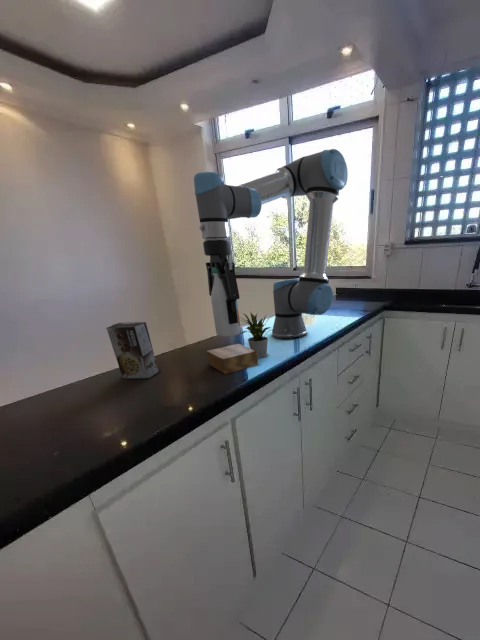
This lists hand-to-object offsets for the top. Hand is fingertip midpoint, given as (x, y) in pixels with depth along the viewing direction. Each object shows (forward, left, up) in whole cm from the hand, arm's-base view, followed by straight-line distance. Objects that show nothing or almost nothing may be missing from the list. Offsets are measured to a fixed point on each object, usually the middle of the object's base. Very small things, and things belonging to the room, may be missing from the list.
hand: (227, 321), depth 98 cm
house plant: (-11, -3, -15) cm, 19 cm away
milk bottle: (0, 0, -4) cm, 4 cm away
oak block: (0, 0, -15) cm, 15 cm away
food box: (+26, -13, -15) cm, 33 cm away
